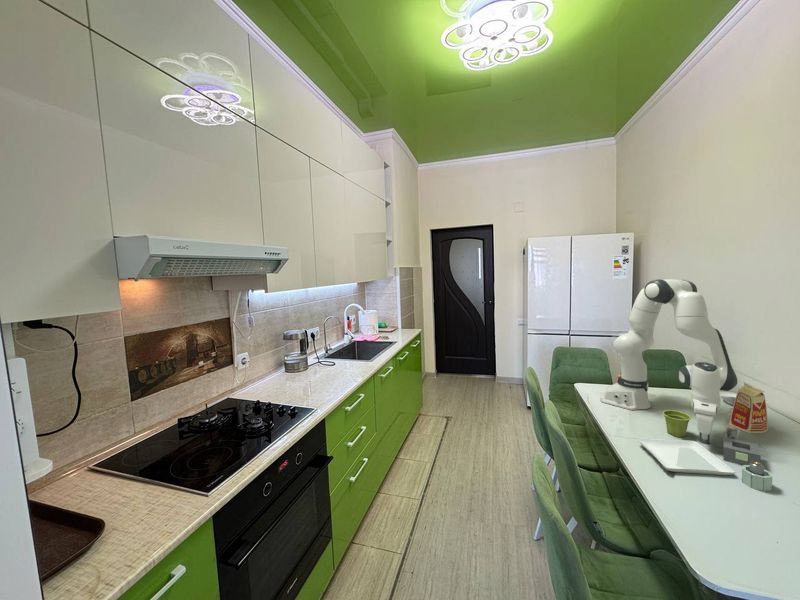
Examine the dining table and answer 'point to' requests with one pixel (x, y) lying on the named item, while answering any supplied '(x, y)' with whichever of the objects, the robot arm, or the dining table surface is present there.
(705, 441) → the cell
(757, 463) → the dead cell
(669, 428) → the plant pot
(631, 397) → the robot arm
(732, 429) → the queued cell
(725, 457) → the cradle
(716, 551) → the dining table surface
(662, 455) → the salad plate
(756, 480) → the cup
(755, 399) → the milk carton
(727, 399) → the spoon rest
